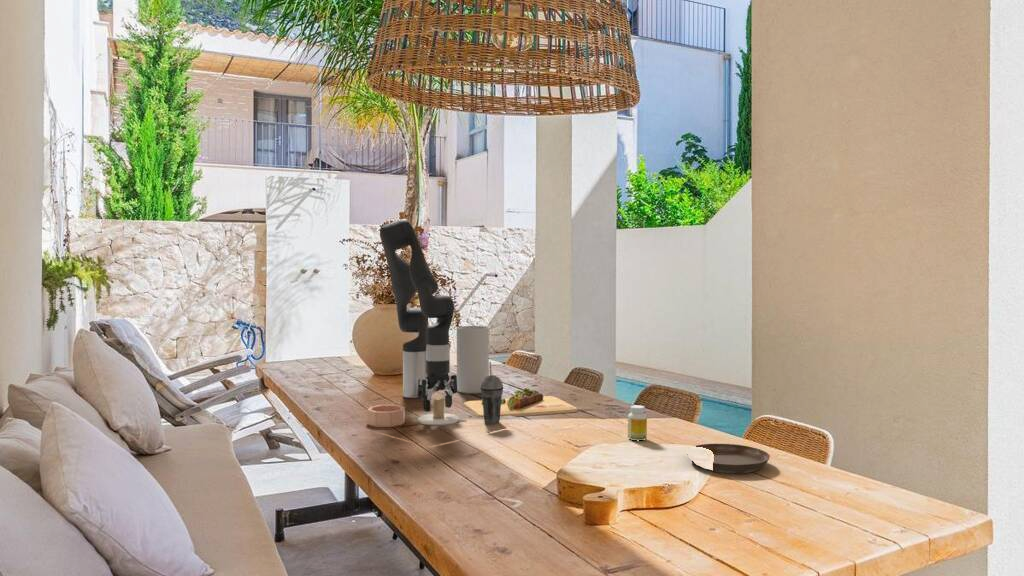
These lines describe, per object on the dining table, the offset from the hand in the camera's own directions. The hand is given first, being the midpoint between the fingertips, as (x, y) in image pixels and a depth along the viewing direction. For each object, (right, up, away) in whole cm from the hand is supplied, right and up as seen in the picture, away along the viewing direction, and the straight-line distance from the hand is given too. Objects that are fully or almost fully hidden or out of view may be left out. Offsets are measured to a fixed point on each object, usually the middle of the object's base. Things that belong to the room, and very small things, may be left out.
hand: (437, 409), depth 233 cm
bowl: (-16, -4, -2) cm, 17 cm away
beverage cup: (+17, -5, -2) cm, 18 cm away
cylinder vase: (+8, -2, +54) cm, 55 cm away
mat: (0, -4, 0) cm, 4 cm away
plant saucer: (+78, -7, -45) cm, 91 cm away
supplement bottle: (+60, -6, -20) cm, 63 cm away
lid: (0, -4, 0) cm, 4 cm away
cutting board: (+26, -4, +22) cm, 35 cm away
